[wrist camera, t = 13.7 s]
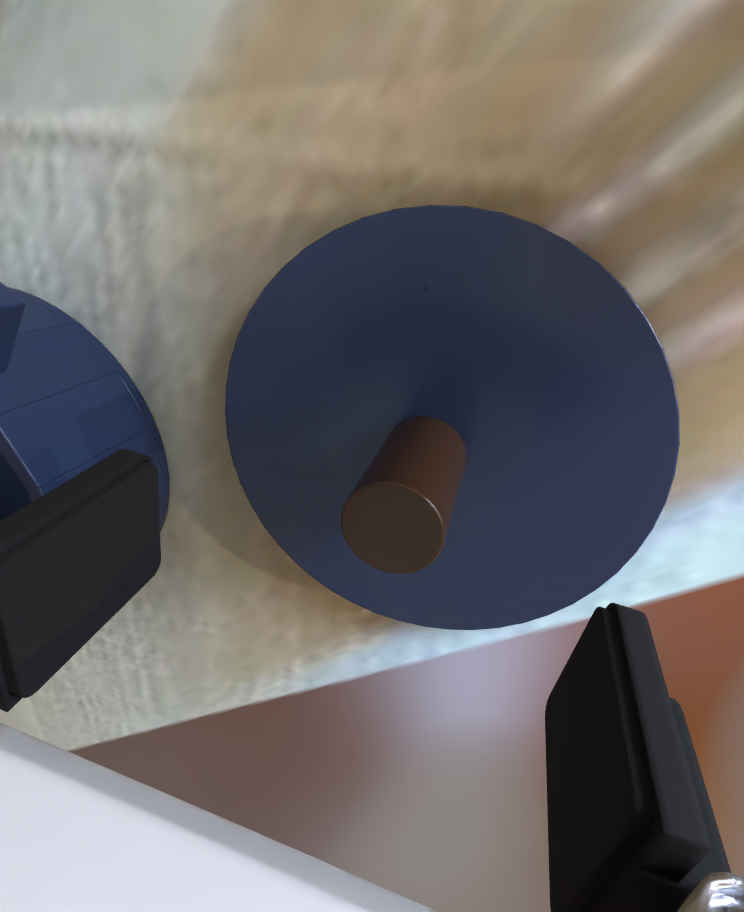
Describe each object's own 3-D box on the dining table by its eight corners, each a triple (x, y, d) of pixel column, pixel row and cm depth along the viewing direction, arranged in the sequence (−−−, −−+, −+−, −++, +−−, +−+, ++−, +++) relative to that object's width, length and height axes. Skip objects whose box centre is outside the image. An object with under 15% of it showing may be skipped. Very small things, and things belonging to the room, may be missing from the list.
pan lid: (180, 452, 22) (68, 526, 17) (388, 86, 15) (305, 10, 9) (458, 669, 23) (436, 807, 17) (792, 426, 15) (932, 538, 10)
